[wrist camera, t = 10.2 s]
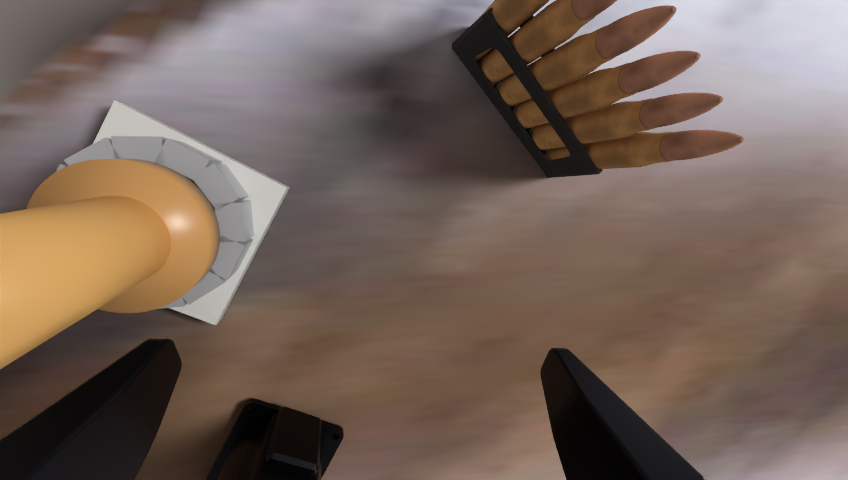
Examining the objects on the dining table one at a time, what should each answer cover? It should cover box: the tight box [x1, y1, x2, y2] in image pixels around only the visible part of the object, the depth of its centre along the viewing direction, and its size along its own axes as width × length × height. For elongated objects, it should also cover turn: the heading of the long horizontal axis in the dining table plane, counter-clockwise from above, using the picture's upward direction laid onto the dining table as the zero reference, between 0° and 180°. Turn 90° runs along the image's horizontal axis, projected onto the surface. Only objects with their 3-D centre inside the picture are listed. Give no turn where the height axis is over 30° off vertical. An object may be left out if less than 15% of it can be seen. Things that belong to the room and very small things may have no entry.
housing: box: [56, 100, 290, 325], centre depth 18 cm, size 9×9×3 cm
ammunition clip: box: [452, 0, 744, 178], centre depth 17 cm, size 11×2×12 cm, turn 43°
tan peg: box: [0, 159, 220, 369], centre depth 12 cm, size 6×6×13 cm
